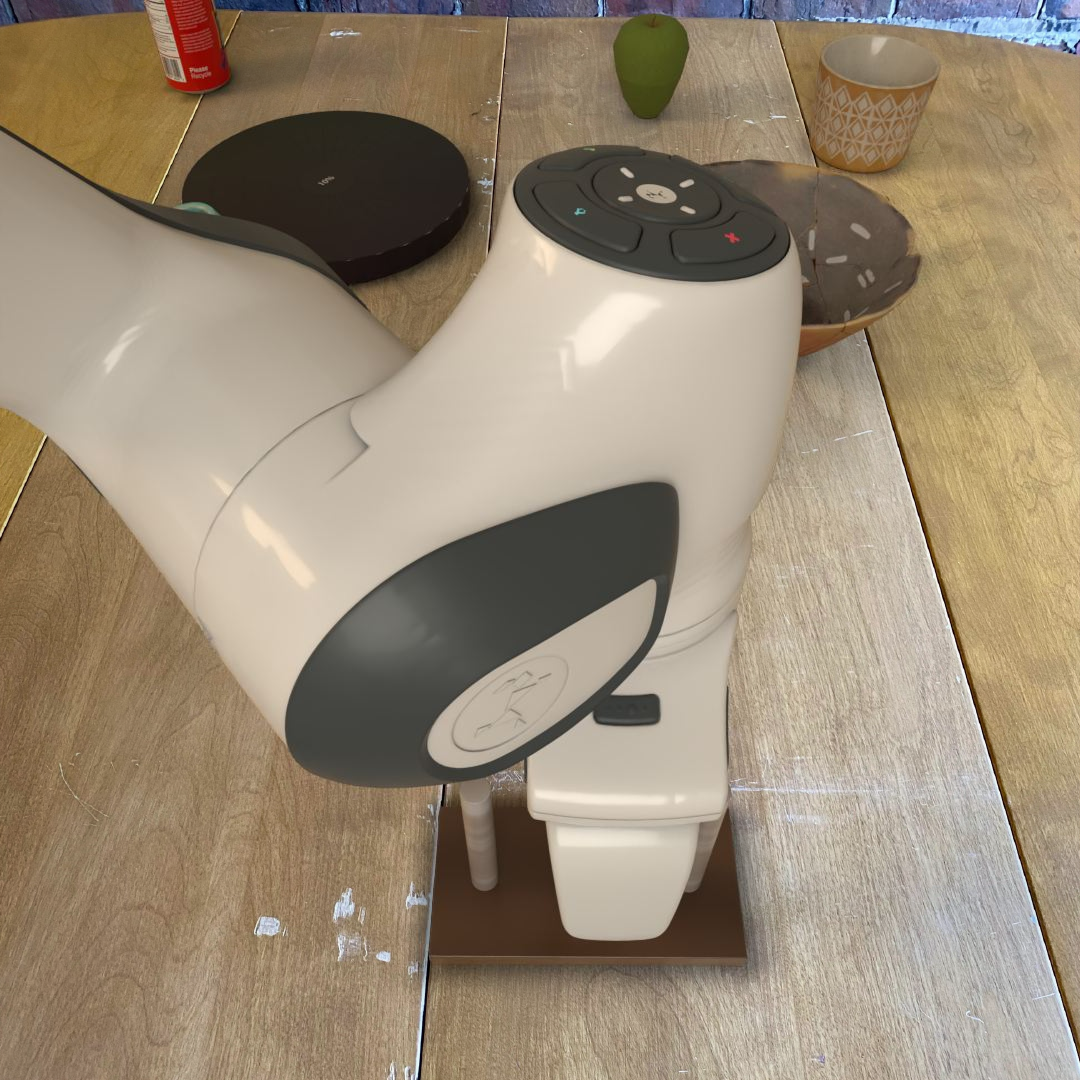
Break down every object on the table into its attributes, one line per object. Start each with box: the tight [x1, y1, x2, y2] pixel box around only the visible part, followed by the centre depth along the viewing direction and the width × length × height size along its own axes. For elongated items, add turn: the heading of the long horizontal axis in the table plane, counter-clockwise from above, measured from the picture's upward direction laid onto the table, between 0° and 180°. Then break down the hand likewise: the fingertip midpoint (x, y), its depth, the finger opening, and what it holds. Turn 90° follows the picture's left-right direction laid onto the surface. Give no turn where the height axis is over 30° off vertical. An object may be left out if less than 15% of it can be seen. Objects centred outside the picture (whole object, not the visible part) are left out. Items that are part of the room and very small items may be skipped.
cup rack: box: [428, 777, 748, 967], centre depth 55 cm, size 9×18×14 cm, turn 90°
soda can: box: [142, 0, 232, 95], centre depth 118 cm, size 8×8×15 cm
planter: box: [809, 33, 942, 174], centre depth 110 cm, size 13×13×10 cm
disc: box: [180, 110, 471, 285], centre depth 106 cm, size 30×30×3 cm
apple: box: [612, 13, 690, 119], centre depth 115 cm, size 9×8×12 cm
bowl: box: [701, 158, 923, 358], centre depth 90 cm, size 25×25×10 cm
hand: (598, 759), depth 47 cm, fingers closed on blue cup, 6 cm apart
